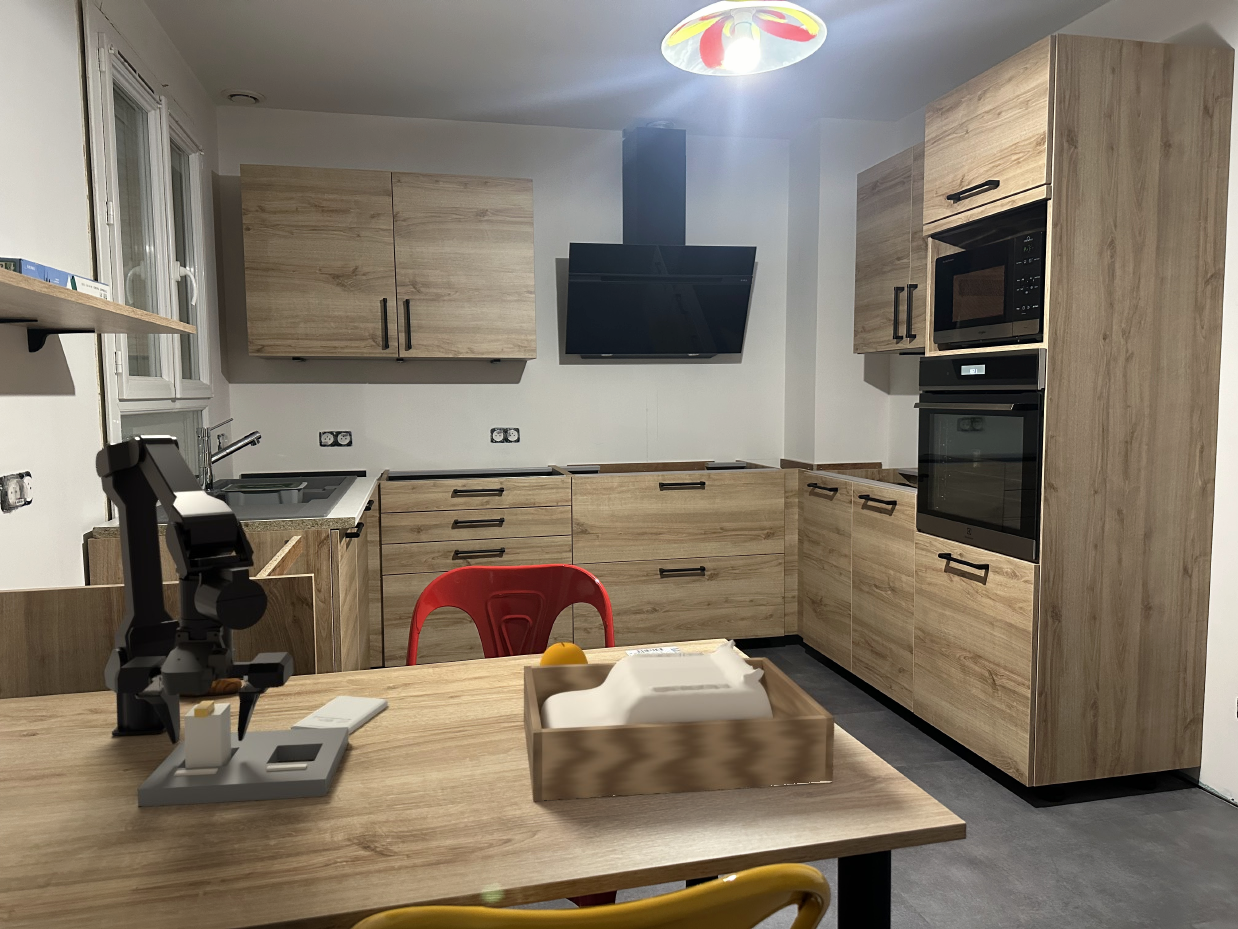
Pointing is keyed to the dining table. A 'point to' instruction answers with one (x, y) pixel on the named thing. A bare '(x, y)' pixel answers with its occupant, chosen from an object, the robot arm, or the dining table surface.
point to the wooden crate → (674, 743)
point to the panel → (252, 769)
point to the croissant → (221, 687)
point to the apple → (563, 655)
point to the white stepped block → (665, 692)
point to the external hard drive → (343, 713)
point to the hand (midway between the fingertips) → (208, 741)
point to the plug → (208, 735)
